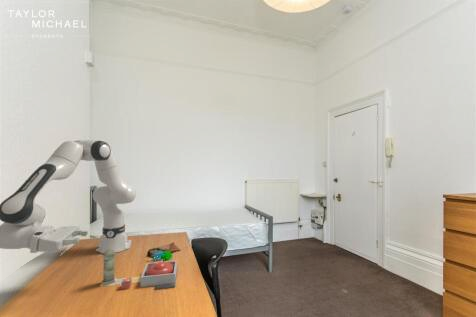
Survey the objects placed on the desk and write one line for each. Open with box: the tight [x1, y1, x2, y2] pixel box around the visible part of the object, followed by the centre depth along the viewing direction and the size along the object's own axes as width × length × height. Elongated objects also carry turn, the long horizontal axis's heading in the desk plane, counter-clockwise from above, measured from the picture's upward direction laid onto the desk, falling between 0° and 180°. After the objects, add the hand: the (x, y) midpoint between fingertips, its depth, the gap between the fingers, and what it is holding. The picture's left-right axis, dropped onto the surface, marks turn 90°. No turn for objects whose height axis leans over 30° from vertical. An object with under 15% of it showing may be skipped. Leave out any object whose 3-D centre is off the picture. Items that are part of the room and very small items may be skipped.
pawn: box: [101, 249, 116, 286], centre depth 95 cm, size 5×5×14 cm
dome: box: [147, 261, 173, 276], centre depth 100 cm, size 11×11×6 cm
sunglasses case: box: [146, 242, 181, 259], centre depth 131 cm, size 18×7×7 cm
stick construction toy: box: [151, 247, 173, 262], centre depth 121 cm, size 12×7×8 cm
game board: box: [99, 260, 178, 291], centre depth 98 cm, size 16×31×5 cm, turn 102°
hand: (83, 237), depth 94 cm, fingers open, 8 cm apart
